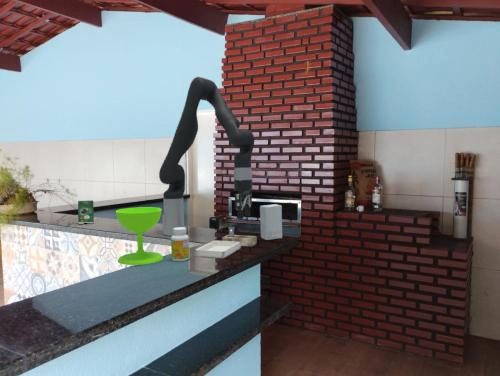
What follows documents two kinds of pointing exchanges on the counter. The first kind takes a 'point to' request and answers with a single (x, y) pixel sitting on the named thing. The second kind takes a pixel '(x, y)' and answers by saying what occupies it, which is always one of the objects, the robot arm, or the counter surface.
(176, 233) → the supplement bottle
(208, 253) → the tray
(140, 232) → the wineglass
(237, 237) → the tan irregular block
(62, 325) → the counter surface
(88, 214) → the coffee box
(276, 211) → the skincare box
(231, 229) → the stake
